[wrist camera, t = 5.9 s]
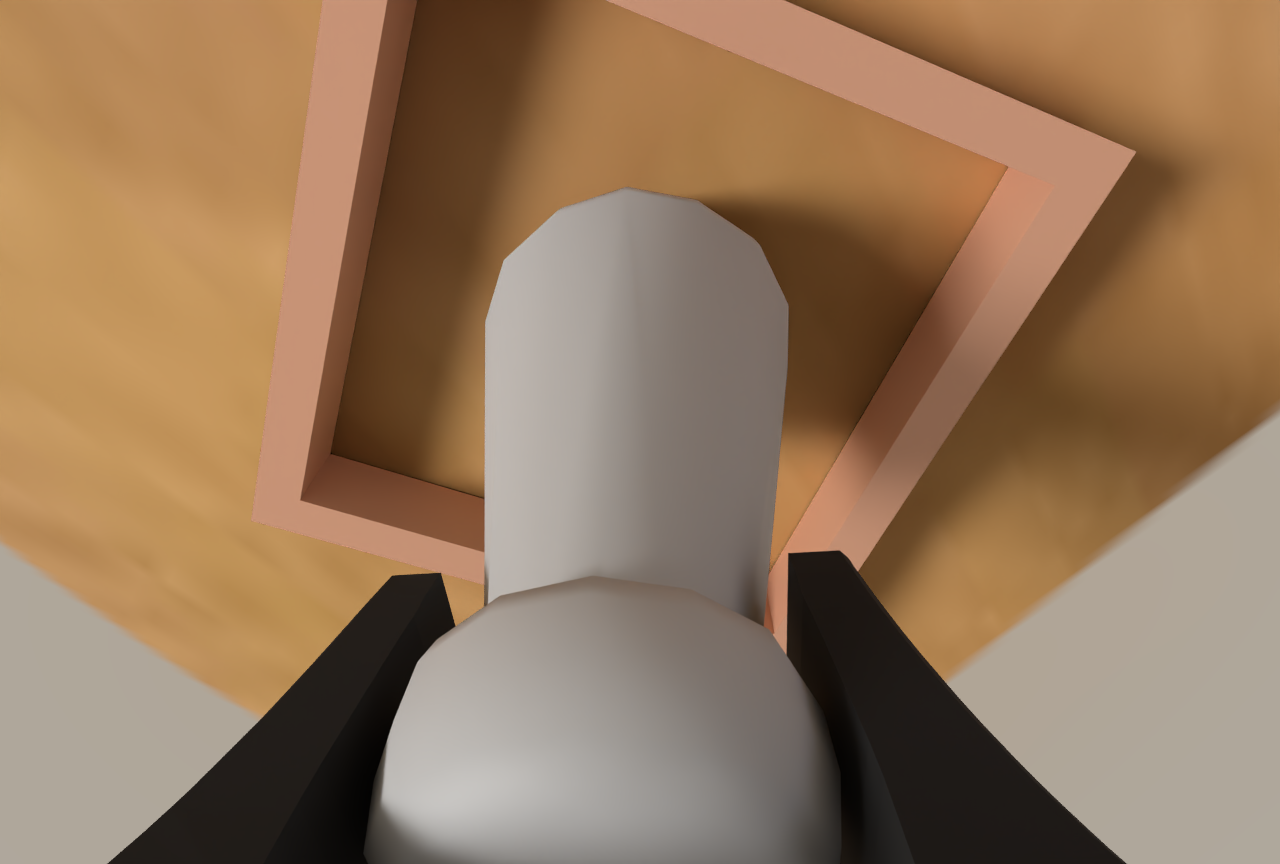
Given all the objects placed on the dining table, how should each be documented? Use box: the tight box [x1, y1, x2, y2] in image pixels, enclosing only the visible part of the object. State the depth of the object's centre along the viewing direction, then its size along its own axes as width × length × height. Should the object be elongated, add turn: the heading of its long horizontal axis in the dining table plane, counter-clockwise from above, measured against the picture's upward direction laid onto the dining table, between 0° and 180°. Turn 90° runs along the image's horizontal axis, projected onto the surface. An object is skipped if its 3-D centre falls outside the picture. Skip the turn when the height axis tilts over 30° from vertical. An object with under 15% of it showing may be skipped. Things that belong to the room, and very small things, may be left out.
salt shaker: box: [363, 187, 842, 864], centre depth 12 cm, size 6×6×13 cm
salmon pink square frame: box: [251, 0, 1136, 654], centre depth 17 cm, size 14×14×2 cm
